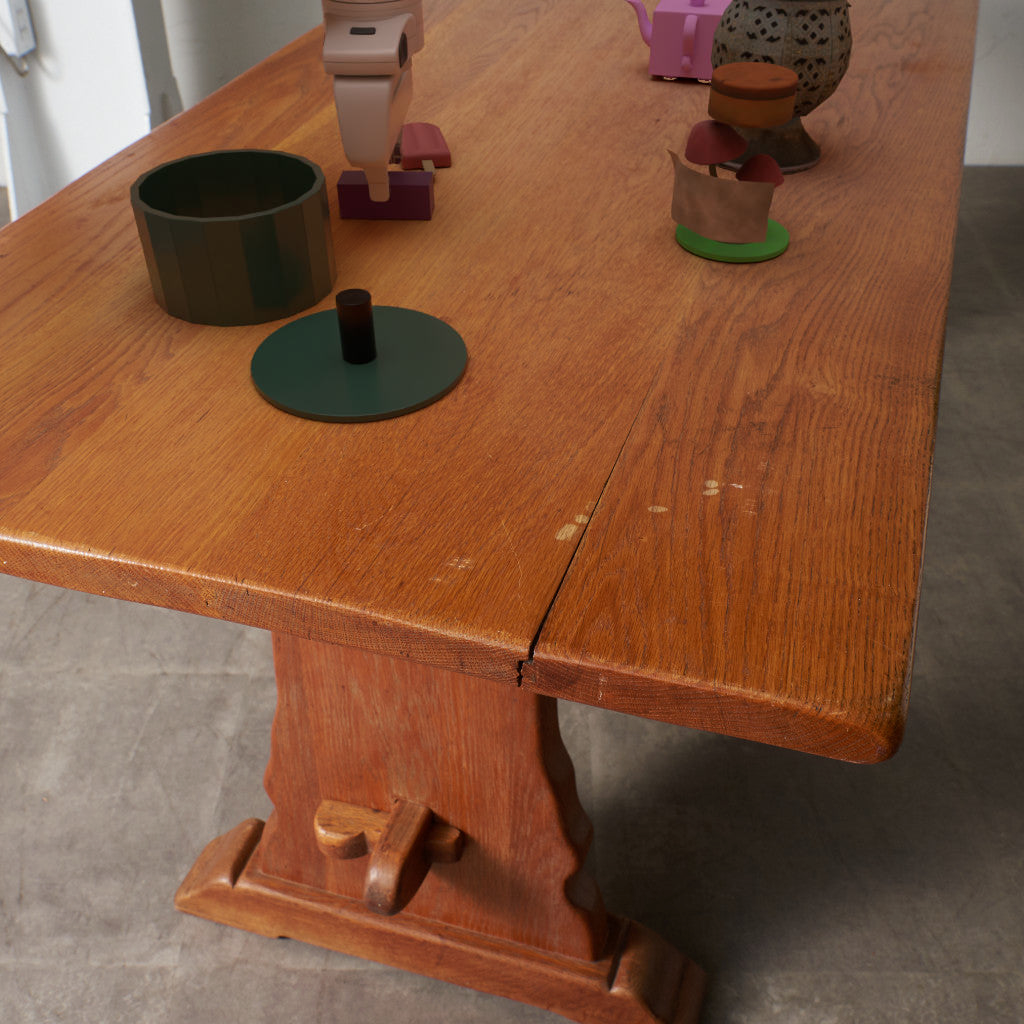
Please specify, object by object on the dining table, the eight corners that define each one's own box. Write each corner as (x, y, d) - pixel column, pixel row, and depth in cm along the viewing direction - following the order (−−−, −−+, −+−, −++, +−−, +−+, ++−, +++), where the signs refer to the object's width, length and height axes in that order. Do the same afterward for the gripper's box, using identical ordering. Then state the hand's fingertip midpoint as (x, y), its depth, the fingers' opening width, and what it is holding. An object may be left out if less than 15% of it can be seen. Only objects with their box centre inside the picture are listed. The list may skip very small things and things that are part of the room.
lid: (228, 427, 72) (211, 351, 68) (279, 316, 84) (267, 246, 80) (458, 432, 71) (455, 356, 67) (474, 319, 84) (472, 249, 80)
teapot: (609, 82, 134) (614, -1, 127) (628, 54, 144) (634, -25, 137) (746, 93, 130) (759, 8, 123) (756, 63, 140) (768, -17, 134)
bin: (131, 331, 82) (101, 220, 76) (186, 248, 94) (164, 147, 88) (318, 334, 82) (303, 223, 76) (350, 251, 94) (338, 149, 88)
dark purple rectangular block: (340, 218, 100) (336, 184, 97) (346, 204, 102) (342, 170, 100) (431, 220, 99) (429, 185, 97) (434, 205, 102) (432, 171, 100)
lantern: (727, 123, 121) (760, -120, 105) (844, 145, 115) (897, -109, 99) (679, 159, 112) (706, -102, 96) (803, 185, 106) (854, -88, 90)
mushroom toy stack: (692, 203, 102) (710, 45, 93) (811, 231, 97) (843, 67, 88) (637, 245, 95) (651, 78, 85) (764, 278, 89) (793, 104, 80)
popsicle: (405, 170, 105) (393, 122, 117) (406, 185, 106) (394, 136, 118) (456, 166, 106) (439, 120, 117) (456, 181, 107) (439, 133, 118)
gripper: (357, -1, 98) (371, 142, 107) (317, 59, 82) (337, 221, 91) (422, -1, 98) (430, 142, 107) (394, 60, 82) (407, 222, 91)
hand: (387, 179), depth 99 cm, fingers open, 8 cm apart
